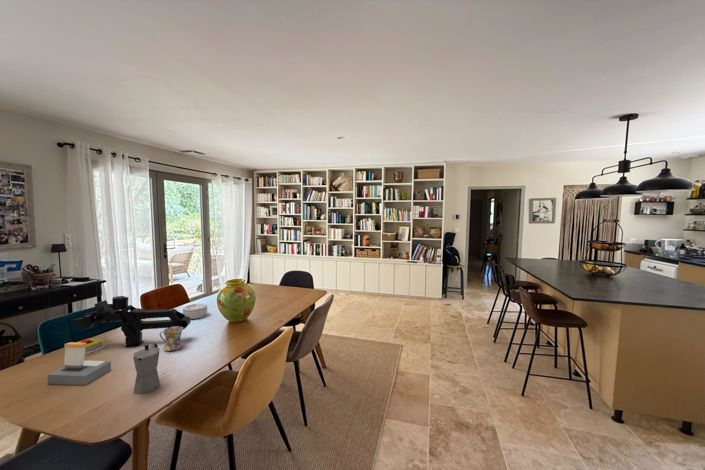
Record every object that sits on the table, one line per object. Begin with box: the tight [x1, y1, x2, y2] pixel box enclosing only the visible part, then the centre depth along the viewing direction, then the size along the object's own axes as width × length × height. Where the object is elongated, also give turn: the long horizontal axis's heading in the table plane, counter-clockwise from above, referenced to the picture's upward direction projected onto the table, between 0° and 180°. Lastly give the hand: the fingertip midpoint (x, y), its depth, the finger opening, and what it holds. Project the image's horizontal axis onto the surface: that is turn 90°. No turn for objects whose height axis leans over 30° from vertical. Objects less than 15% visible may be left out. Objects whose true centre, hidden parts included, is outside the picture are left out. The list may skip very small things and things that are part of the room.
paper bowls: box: [182, 303, 208, 320], centre depth 200 cm, size 15×15×8 cm
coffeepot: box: [132, 343, 161, 395], centre depth 117 cm, size 15×9×18 cm, turn 13°
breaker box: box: [47, 359, 112, 386], centre depth 123 cm, size 12×16×4 cm
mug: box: [159, 326, 184, 352], centre depth 151 cm, size 12×9×11 cm
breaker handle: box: [63, 341, 87, 368], centre depth 122 cm, size 2×7×10 cm, turn 89°
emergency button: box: [76, 338, 107, 355], centre depth 149 cm, size 9×4×15 cm
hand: (78, 317), depth 148 cm, fingers open, 9 cm apart
